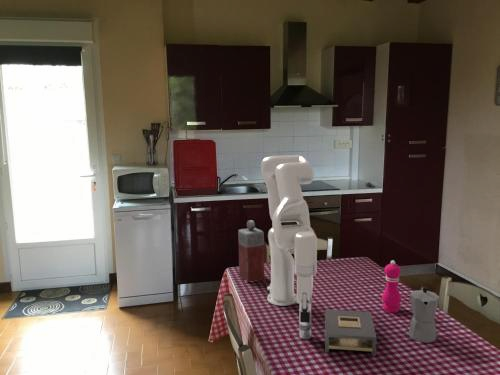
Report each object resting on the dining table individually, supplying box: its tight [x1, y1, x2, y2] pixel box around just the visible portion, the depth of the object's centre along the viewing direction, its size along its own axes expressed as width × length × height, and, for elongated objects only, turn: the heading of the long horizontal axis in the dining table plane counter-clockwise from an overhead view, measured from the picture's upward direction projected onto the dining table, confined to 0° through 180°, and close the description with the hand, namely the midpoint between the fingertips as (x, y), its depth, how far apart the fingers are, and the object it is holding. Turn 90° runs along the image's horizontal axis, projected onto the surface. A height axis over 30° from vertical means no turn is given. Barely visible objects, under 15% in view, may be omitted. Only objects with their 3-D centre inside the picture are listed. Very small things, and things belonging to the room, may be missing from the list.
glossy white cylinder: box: [298, 301, 312, 340], centre depth 154 cm, size 4×4×14 cm
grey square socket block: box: [324, 308, 377, 357], centre depth 152 cm, size 18×16×7 cm
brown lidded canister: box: [237, 219, 268, 282], centre depth 207 cm, size 9×11×28 cm
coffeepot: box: [407, 285, 440, 344], centre depth 154 cm, size 15×9×18 cm, turn 163°
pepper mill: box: [381, 259, 402, 313], centre depth 173 cm, size 7×7×20 cm
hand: (305, 317), depth 154 cm, fingers open, 4 cm apart
